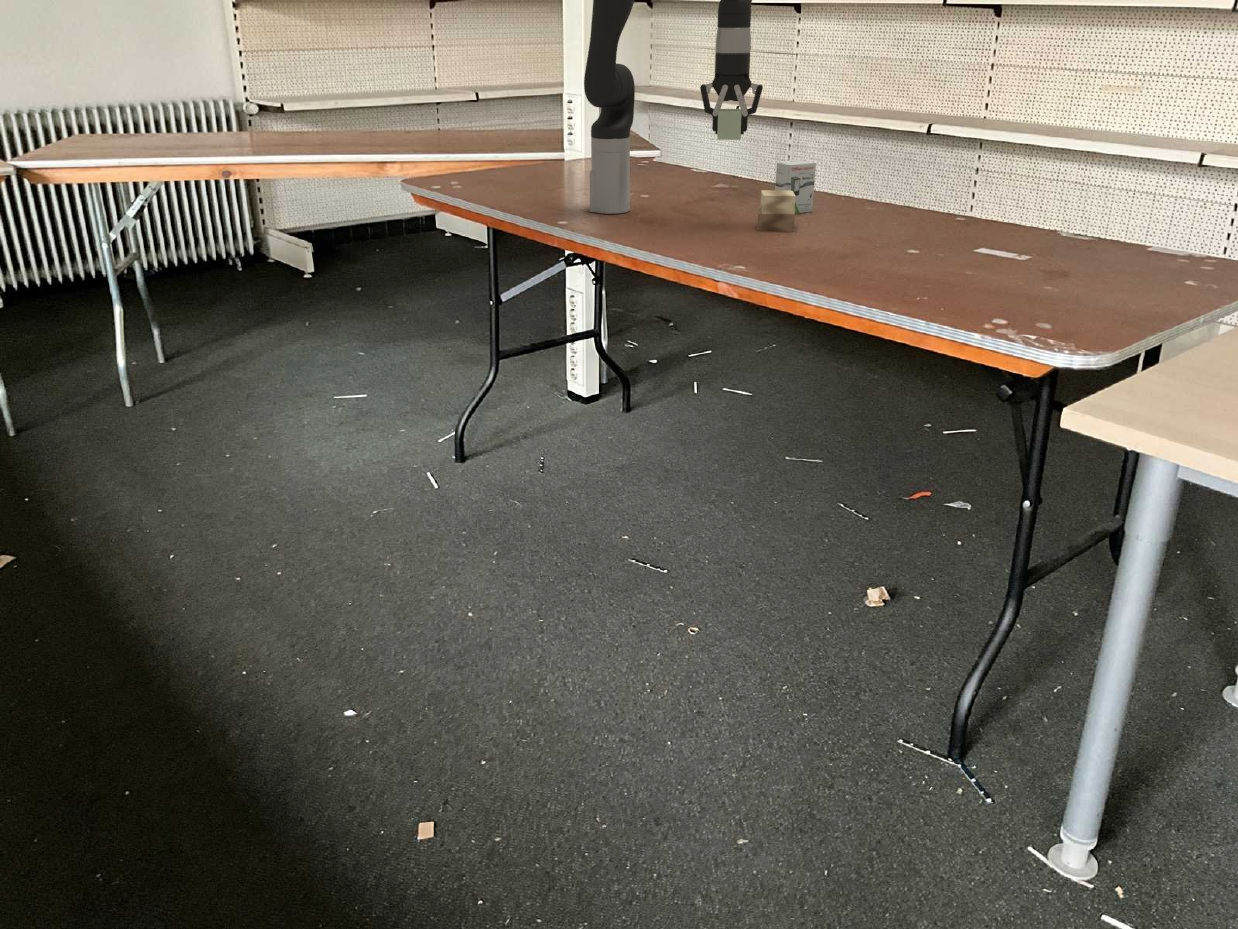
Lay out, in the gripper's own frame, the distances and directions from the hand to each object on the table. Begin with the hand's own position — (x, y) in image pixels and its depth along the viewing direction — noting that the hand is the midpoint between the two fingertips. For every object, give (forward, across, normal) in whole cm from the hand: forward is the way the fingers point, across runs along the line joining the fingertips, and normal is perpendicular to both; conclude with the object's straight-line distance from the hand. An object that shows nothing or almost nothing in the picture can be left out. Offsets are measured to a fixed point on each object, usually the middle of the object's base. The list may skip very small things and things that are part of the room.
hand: (729, 133), depth 216 cm
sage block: (+1, 0, 0) cm, 1 cm away
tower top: (+16, +11, -3) cm, 20 cm away
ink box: (+20, +15, +17) cm, 30 cm away
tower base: (+20, +11, -3) cm, 23 cm away
